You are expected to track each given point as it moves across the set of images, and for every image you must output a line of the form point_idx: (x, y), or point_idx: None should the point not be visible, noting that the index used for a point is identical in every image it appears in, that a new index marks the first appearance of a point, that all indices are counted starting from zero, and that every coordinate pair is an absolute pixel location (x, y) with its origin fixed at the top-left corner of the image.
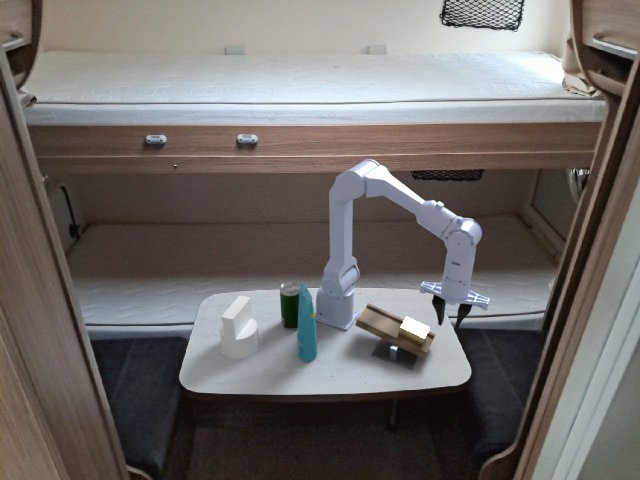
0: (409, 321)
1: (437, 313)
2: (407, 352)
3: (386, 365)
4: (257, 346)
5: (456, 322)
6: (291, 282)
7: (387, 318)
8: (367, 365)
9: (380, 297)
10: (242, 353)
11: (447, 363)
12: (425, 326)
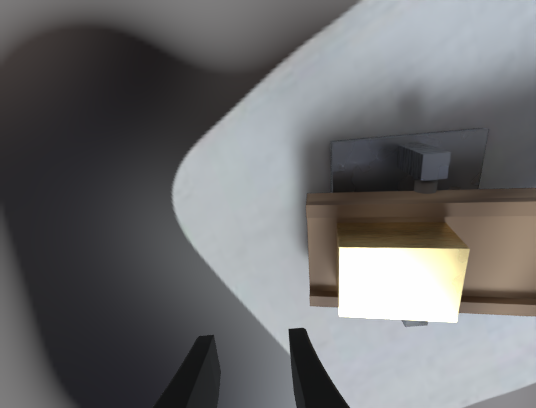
0: (435, 303)
1: (337, 403)
2: None
3: (419, 112)
4: None
5: (192, 384)
6: None
7: (513, 287)
8: (486, 72)
9: (510, 375)
10: None
11: (239, 228)
12: (358, 312)
